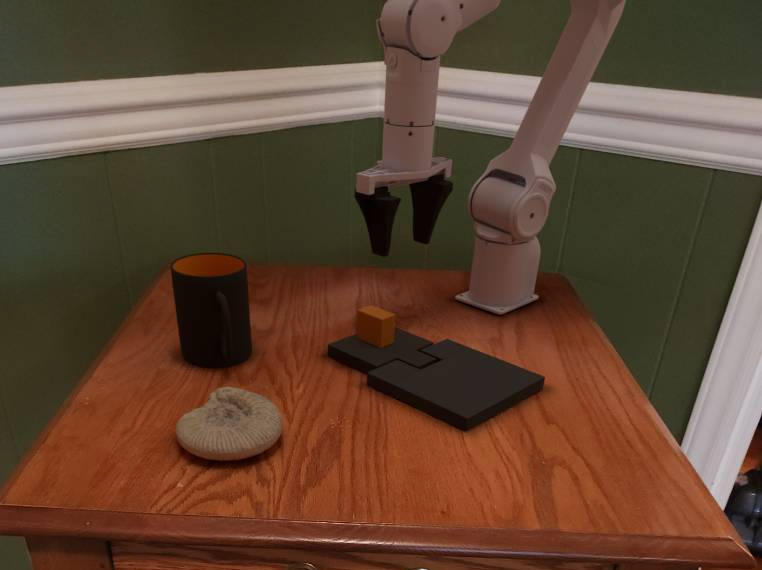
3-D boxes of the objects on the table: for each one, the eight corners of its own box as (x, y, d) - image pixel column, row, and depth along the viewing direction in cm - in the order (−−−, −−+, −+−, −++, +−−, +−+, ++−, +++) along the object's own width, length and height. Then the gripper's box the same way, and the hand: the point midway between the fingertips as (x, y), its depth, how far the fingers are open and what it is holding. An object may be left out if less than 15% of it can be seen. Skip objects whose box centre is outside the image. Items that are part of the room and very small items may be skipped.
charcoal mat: (445, 350, 89) (447, 338, 88) (542, 389, 81) (545, 376, 80) (366, 384, 81) (366, 372, 80) (465, 431, 73) (467, 418, 72)
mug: (195, 386, 79) (184, 292, 73) (175, 343, 88) (164, 255, 82) (269, 376, 82) (264, 284, 75) (242, 335, 91) (236, 249, 84)
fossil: (183, 373, 73) (283, 383, 74) (183, 407, 75) (280, 416, 76) (169, 428, 64) (283, 438, 65) (170, 464, 66) (280, 473, 68)
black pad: (384, 333, 92) (386, 294, 89) (453, 362, 86) (458, 321, 83) (327, 356, 87) (327, 315, 83) (397, 388, 81) (400, 345, 77)
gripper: (424, 111, 87) (415, 230, 96) (337, 123, 79) (336, 252, 88) (470, 120, 84) (457, 242, 92) (385, 133, 75) (378, 266, 84)
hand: (401, 248), depth 90 cm, fingers open, 7 cm apart
